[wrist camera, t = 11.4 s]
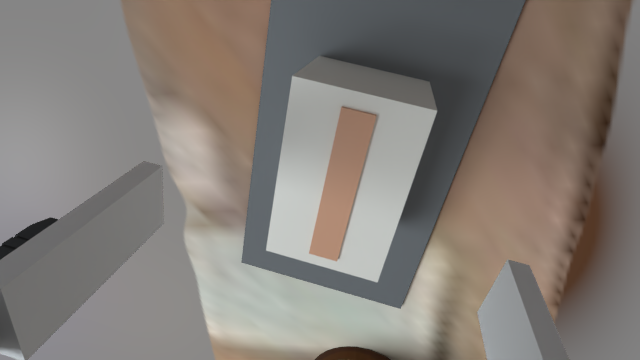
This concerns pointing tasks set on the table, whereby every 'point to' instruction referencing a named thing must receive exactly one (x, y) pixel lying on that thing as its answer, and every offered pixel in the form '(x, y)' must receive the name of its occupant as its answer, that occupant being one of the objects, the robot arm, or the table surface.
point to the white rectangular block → (347, 164)
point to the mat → (391, 56)
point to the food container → (351, 354)
